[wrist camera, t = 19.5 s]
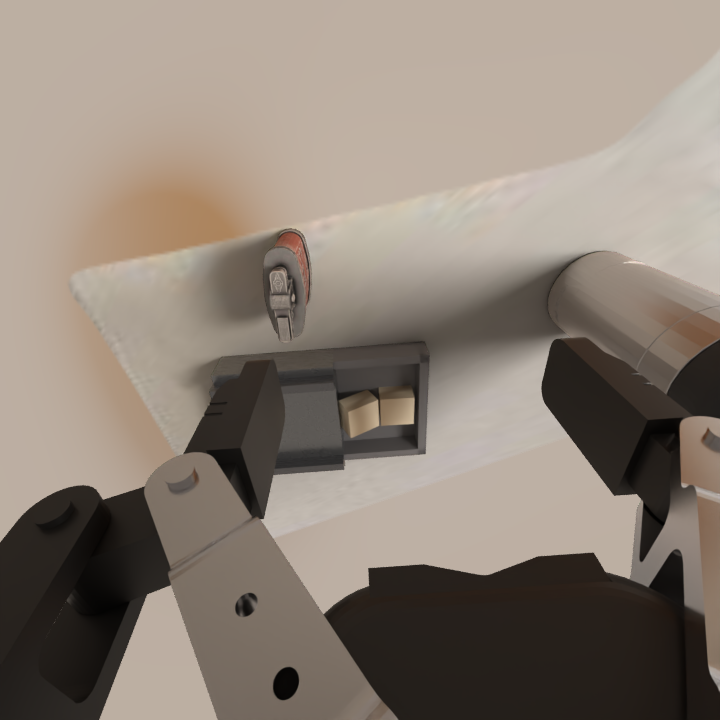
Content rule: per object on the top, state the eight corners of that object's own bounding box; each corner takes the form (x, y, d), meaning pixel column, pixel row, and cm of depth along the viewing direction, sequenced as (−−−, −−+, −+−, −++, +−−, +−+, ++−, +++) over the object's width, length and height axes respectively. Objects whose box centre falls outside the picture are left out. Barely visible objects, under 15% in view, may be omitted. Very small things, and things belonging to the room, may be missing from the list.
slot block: (333, 348, 42) (332, 374, 37) (344, 443, 50) (344, 475, 45) (221, 356, 42) (206, 384, 38) (250, 450, 50) (240, 482, 45)
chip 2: (380, 399, 43) (378, 387, 45) (380, 425, 45) (379, 412, 47) (414, 397, 43) (411, 385, 45) (413, 423, 45) (410, 410, 47)
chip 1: (367, 389, 45) (378, 399, 43) (368, 414, 47) (379, 425, 45) (338, 400, 43) (348, 412, 41) (341, 426, 45) (350, 438, 43)
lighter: (272, 228, 35) (249, 257, 27) (308, 227, 35) (296, 256, 27) (283, 306, 39) (266, 352, 31) (314, 305, 39) (306, 351, 31)
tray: (424, 341, 42) (429, 354, 40) (421, 437, 50) (425, 454, 47) (333, 348, 42) (333, 362, 40) (344, 443, 50) (344, 460, 47)
